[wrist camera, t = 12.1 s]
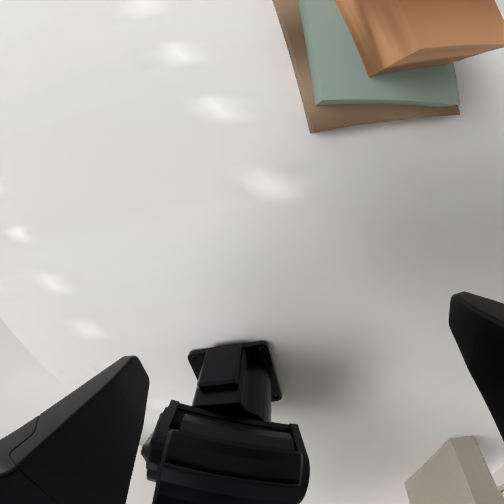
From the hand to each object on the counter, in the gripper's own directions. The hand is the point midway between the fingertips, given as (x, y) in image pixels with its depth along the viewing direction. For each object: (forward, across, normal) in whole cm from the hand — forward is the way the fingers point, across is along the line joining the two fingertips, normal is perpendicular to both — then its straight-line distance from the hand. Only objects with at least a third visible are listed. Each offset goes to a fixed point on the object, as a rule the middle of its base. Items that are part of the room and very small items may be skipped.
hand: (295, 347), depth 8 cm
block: (+9, -8, -10) cm, 16 cm away
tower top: (+11, -8, -10) cm, 17 cm away
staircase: (+14, -16, +38) cm, 44 cm away
